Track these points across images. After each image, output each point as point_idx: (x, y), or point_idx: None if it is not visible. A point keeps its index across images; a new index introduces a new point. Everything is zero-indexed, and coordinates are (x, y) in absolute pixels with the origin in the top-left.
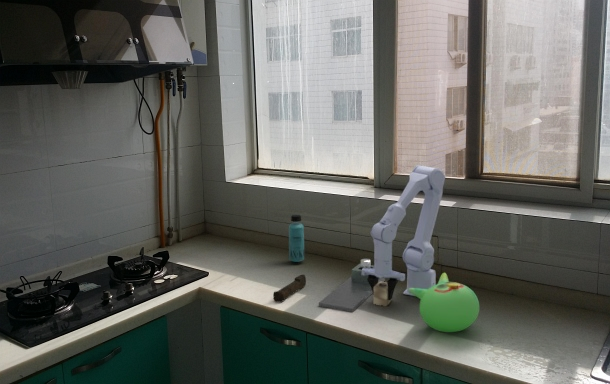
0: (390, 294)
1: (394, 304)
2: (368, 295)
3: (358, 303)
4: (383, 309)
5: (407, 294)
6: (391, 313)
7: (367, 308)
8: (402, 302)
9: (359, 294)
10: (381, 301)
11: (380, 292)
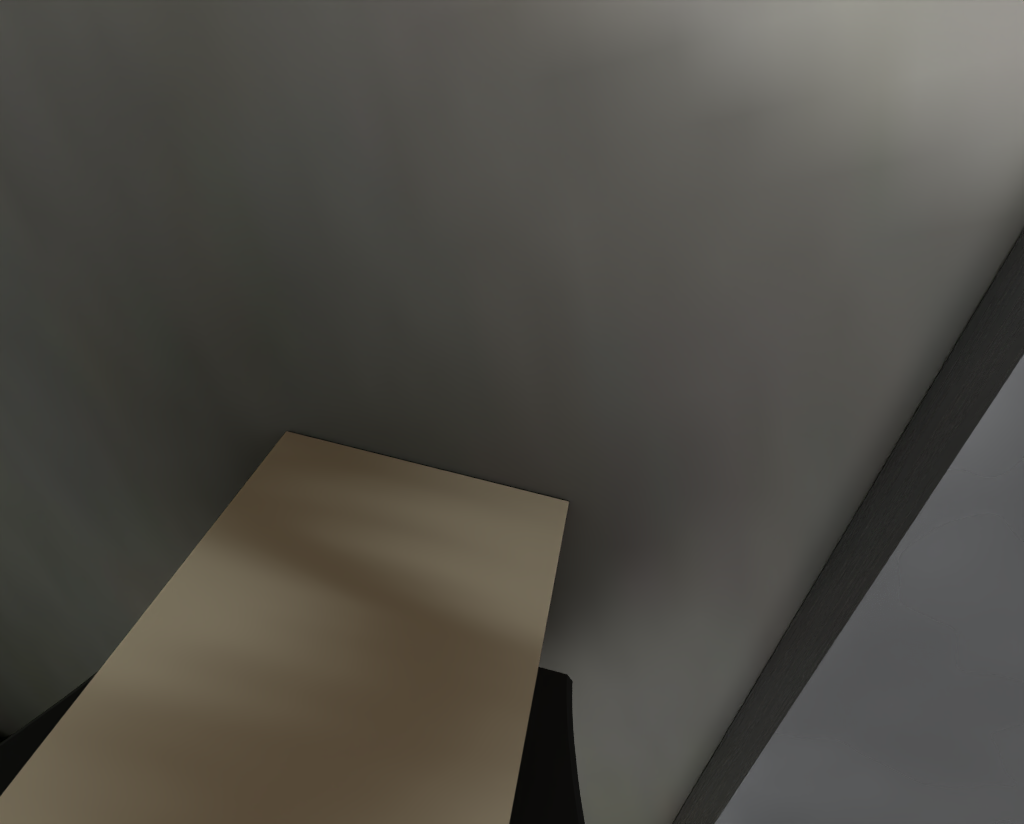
0: (83, 683)
1: (185, 525)
2: (712, 787)
3: (995, 381)
4: (282, 265)
5: None
6: (7, 49)
7: (689, 252)
8: (110, 600)
9: (915, 807)
10: (356, 520)
11: (275, 733)
